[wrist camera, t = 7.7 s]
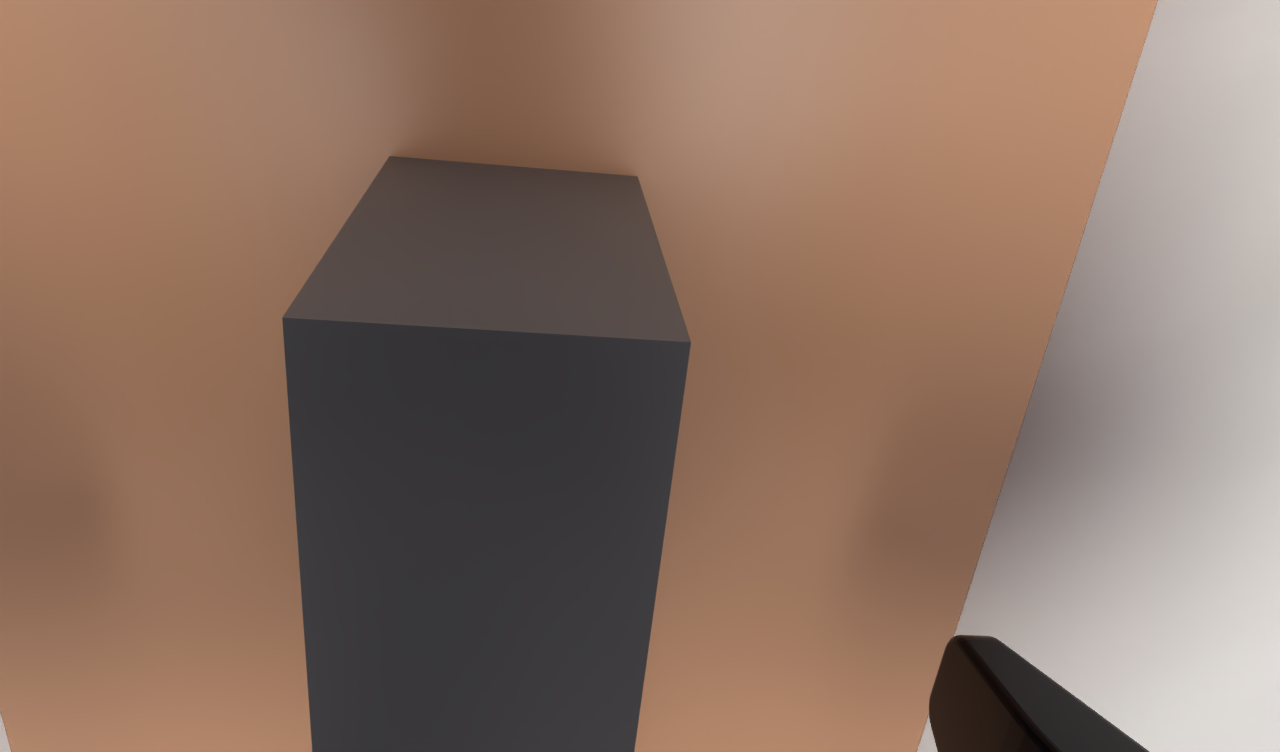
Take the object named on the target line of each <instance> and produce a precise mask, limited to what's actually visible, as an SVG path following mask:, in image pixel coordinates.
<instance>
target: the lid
mask: <svg viewBox="0 0 1280 752" xmlns="http://www.w3.org/2000/svg"><path fill="white" fill-rule="evenodd" d="M1157 2H1158V0H0V711H1V715H2V719H3V723H4V726H5V730H6V734H7V738H8V742H9V745H10V749H11V752H917V749H918V746H919V743H920V740H921V737H922V734H923V731H924V727H925V724H926V721H927V718H928V715H929V699H930V694H931V691H932V688H933V685H934V682H935V678H936V675H937V672H938V669H939V666H940V663H941V659H942V656H943V653H944V650H945V647H946V645H947V643H948V642H949V640H950V639H951V638H952V637H954V634H955V631H956V628H957V625H958V622H959V619H960V615H961V612H962V609H963V606H964V603H965V600H966V597H967V594H968V590H969V587H970V584H971V581H972V578H973V575H974V572H975V569H976V566H977V562H978V559H979V556H980V553H981V550H982V547H983V544H984V541H985V538H986V534H987V531H988V528H989V525H990V522H991V519H992V516H993V513H994V510H995V506H996V503H997V500H998V497H999V494H1000V491H1001V488H1002V485H1003V482H1004V478H1005V475H1006V472H1007V469H1008V466H1009V463H1010V460H1011V457H1012V454H1013V450H1014V447H1015V444H1016V441H1017V438H1018V435H1019V432H1020V429H1021V426H1022V422H1023V419H1024V416H1025V413H1026V410H1027V407H1028V404H1029V401H1030V397H1031V394H1032V391H1033V388H1034V385H1035V382H1036V379H1037V376H1038V373H1039V369H1040V366H1041V363H1042V360H1043V357H1044V354H1045V351H1046V348H1047V345H1048V341H1049V338H1050V335H1051V332H1052V329H1053V326H1054V323H1055V320H1056V317H1057V313H1058V310H1059V307H1060V304H1061V301H1062V298H1063V295H1064V292H1065V289H1066V285H1067V282H1068V279H1069V276H1070V273H1071V270H1072V267H1073V264H1074V261H1075V257H1076V254H1077V251H1078V248H1079V245H1080V242H1081V239H1082V236H1083V233H1084V229H1085V226H1086V223H1087V220H1088V217H1089V214H1090V211H1091V208H1092V204H1093V201H1094V198H1095V195H1096V192H1097V189H1098V186H1099V183H1100V180H1101V176H1102V173H1103V170H1104V167H1105V164H1106V161H1107V158H1108V155H1109V152H1110V148H1111V145H1112V142H1113V139H1114V136H1115V133H1116V130H1117V127H1118V124H1119V120H1120V117H1121V114H1122V111H1123V108H1124V105H1125V102H1126V99H1127V96H1128V92H1129V89H1130V86H1131V83H1132V80H1133V77H1134V74H1135V71H1136V68H1137V64H1138V61H1139V58H1140V55H1141V52H1142V49H1143V46H1144V43H1145V40H1146V36H1147V33H1148V30H1149V27H1150V24H1151V21H1152V18H1153V15H1154V11H1155V8H1156V5H1157Z"/></svg>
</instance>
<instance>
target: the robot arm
mask: <svg viewBox="0 0 1280 752" xmlns="http://www.w3.org/2000/svg"><path fill="white" fill-rule="evenodd" d="M929 718H930V723H931V727H932V731H933V735H934V739H935V743H936V746H937V750H938V752H1149V751H1148V750H1147V749H1145V748H1144V747H1142V746H1141V745H1140V744H1138V743H1137V742H1136V741H1134V740H1133V739H1132V738H1130V737H1129V736H1128V735H1126V734H1125V733H1124V732H1122V731H1121V730H1120V729H1118V728H1117V727H1115V726H1114V725H1113V724H1111V723H1110V722H1109V721H1107V720H1106V719H1105V718H1103V717H1102V716H1101V715H1099V714H1098V713H1097V712H1095V711H1094V710H1093V709H1091V708H1090V707H1088V706H1087V705H1086V704H1084V703H1083V702H1082V701H1080V700H1079V699H1078V698H1076V697H1075V696H1074V695H1072V694H1071V693H1070V692H1068V691H1067V690H1066V689H1064V688H1063V687H1062V686H1060V685H1059V684H1057V683H1056V682H1055V681H1053V680H1052V679H1051V678H1049V677H1048V676H1047V675H1045V674H1044V673H1043V672H1041V671H1040V670H1039V669H1037V668H1036V667H1035V666H1033V665H1032V664H1030V663H1029V662H1028V661H1026V660H1025V659H1024V658H1022V657H1021V656H1020V655H1018V654H1017V653H1016V652H1014V651H1013V650H1012V649H1010V648H1009V647H1008V646H1006V645H1005V644H1003V643H1002V642H1001V641H999V640H998V639H996V638H994V637H990V636H971V635H958V636H955V637H952V638H951V639H950V640H949V642H948V643H947V645H946V647H945V650H944V653H943V656H942V659H941V663H940V666H939V669H938V672H937V675H936V678H935V682H934V685H933V688H932V691H931V694H930V699H929Z"/></svg>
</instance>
